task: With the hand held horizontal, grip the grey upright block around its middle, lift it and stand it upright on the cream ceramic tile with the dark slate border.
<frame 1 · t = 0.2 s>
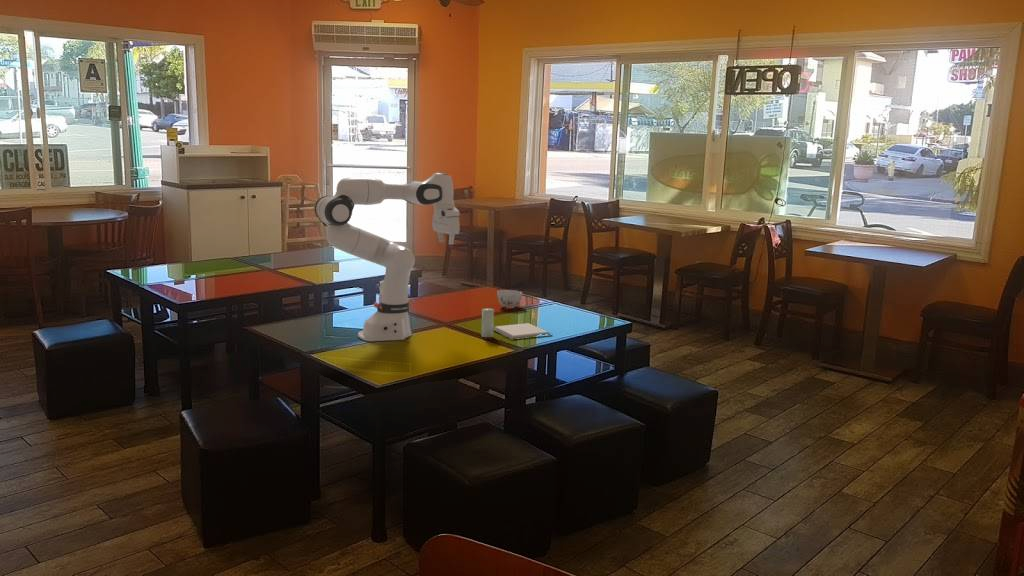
hand: (446, 243, 339), 38 cm above the table, tool pointing down, fingers open, 8 cm apart
grey upright block: (487, 337, 337), on the table
teacup: (510, 307, 396), on the table
tile: (520, 332, 346), on the table
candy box: (391, 314, 374), on the table
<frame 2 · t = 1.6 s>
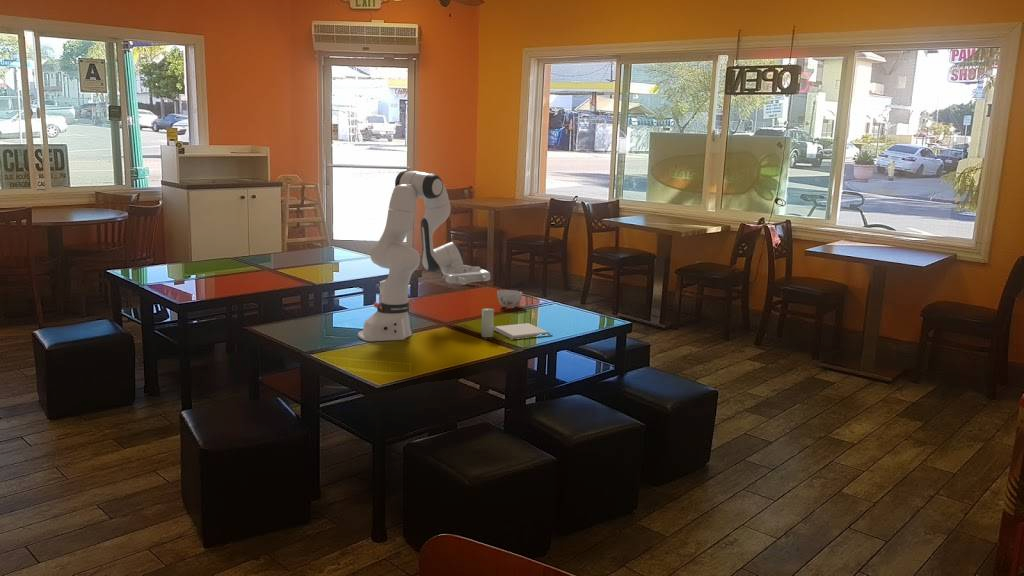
hand: (475, 280, 344), 22 cm above the table, tool horizontal, fingers open, 8 cm apart
nothing on the table moved.
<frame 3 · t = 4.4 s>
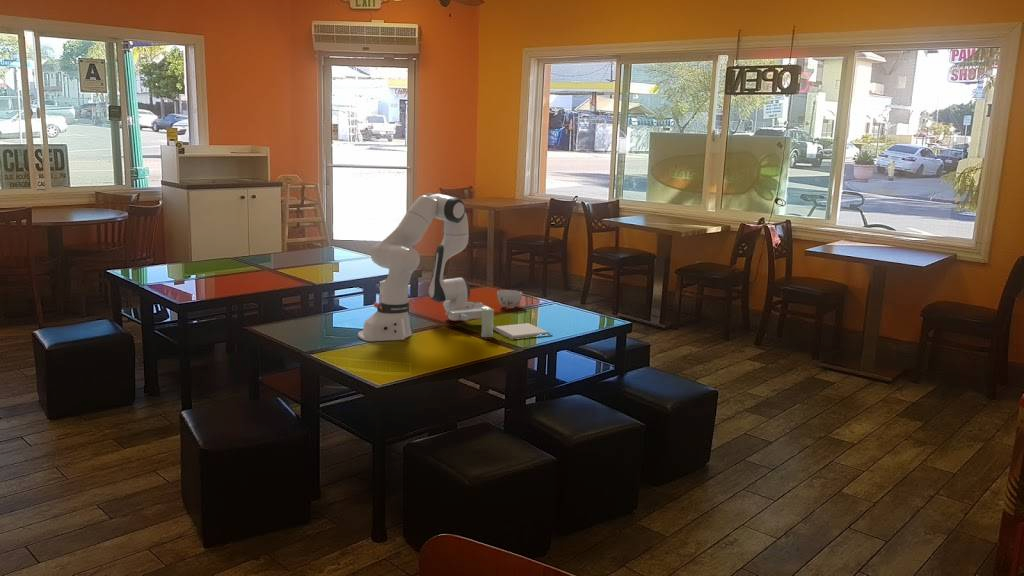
hand: (477, 317, 344), 6 cm above the table, tool horizontal, fingers open, 8 cm apart
nothing on the table moved.
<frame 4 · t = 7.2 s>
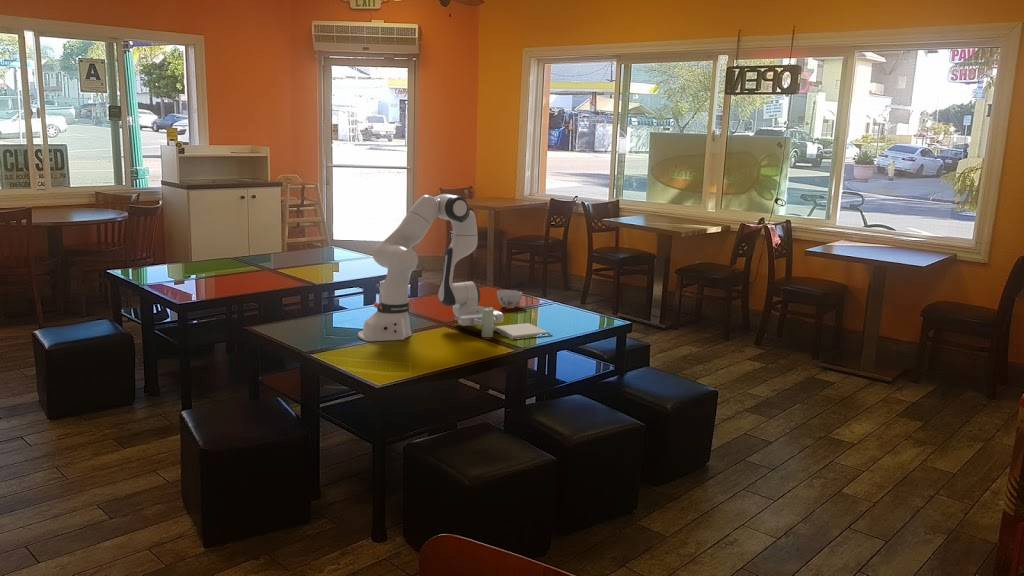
hand: (488, 322, 335), 7 cm above the table, tool horizontal, fingers closed on grey upright block, 5 cm apart
grey upright block: (487, 336, 337), on the table, touching gripper
everything else where it was.
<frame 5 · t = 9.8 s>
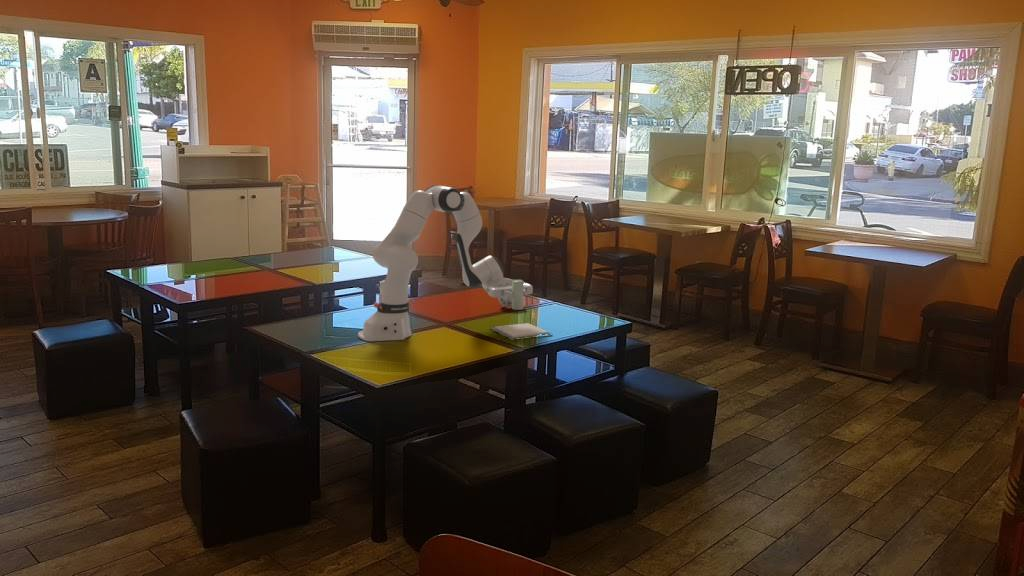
hand: (518, 293, 341), 18 cm above the table, tool horizontal, fingers closed on grey upright block, 5 cm apart
grey upright block: (517, 308, 343), point 11 cm above the table, touching gripper
everything else where it was.
when the fingers open (10 cm above the table, at t = 12.3 s): grey upright block drops 1 cm, resting on tile.
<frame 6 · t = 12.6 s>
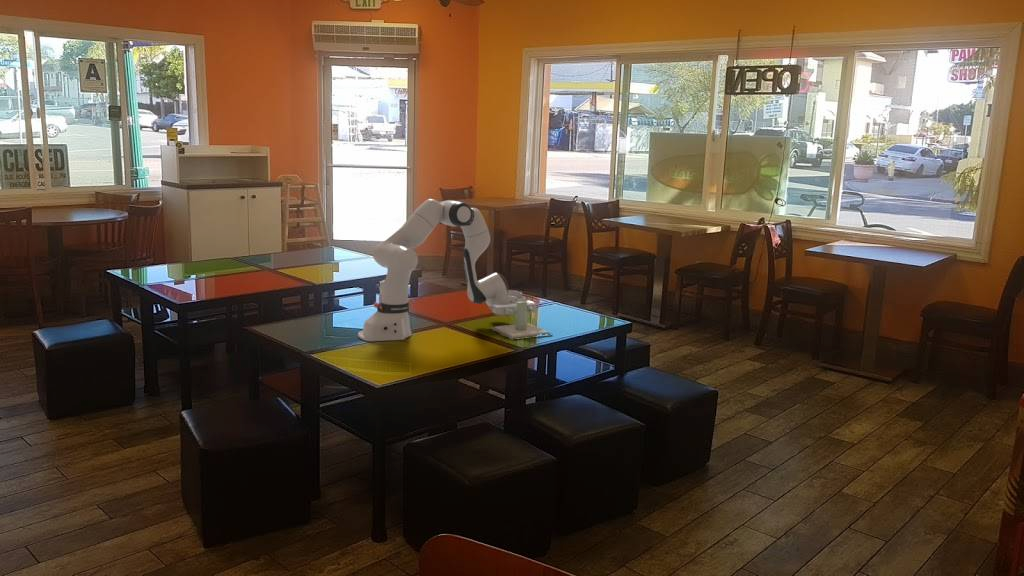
hand: (522, 311, 343), 10 cm above the table, tool horizontal, fingers open, 8 cm apart
grey upright block: (521, 329, 346), point 2 cm above the table, touching tile
everything else where it was.
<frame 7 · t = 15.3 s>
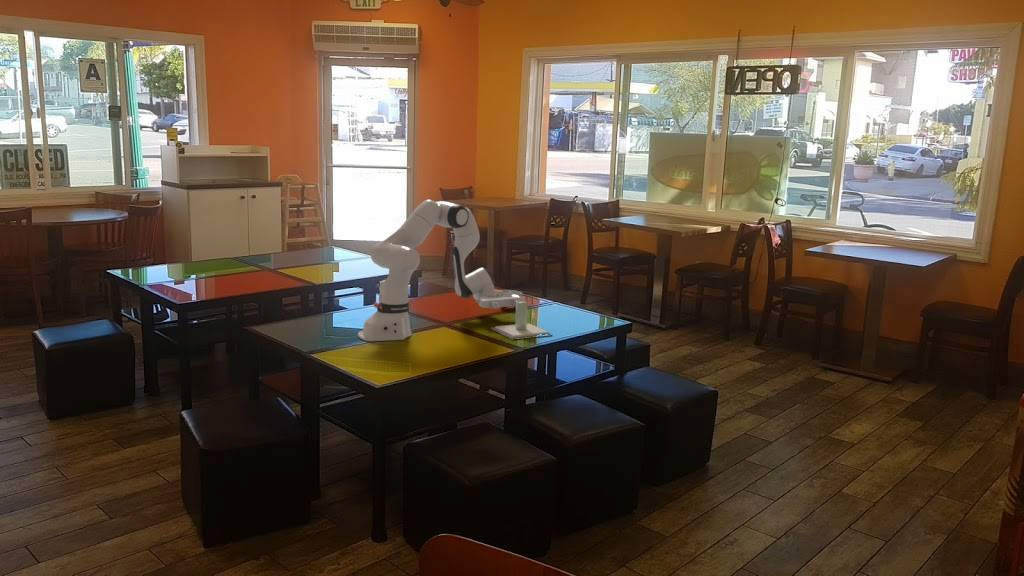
hand: (508, 305, 354), 10 cm above the table, tool horizontal, fingers open, 8 cm apart
nothing on the table moved.
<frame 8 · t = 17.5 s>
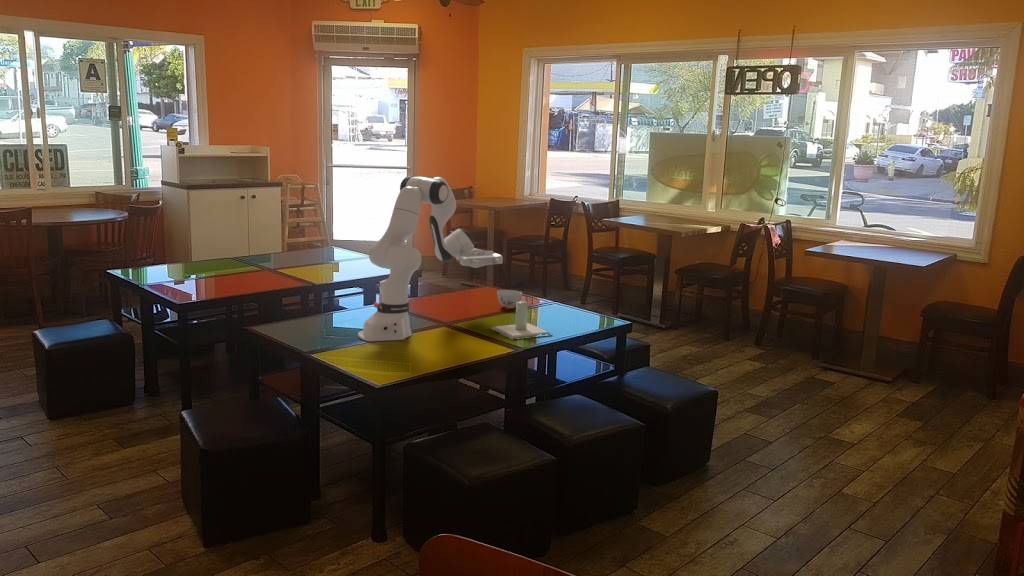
hand: (488, 262, 356), 28 cm above the table, tool horizontal, fingers open, 8 cm apart
nothing on the table moved.
at the end: grey upright block inside the target area on the tile (0.0 cm from its centre), point 1.6 cm above the tile's base; grey upright block tilted 0°; the gripper is holding nothing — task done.
